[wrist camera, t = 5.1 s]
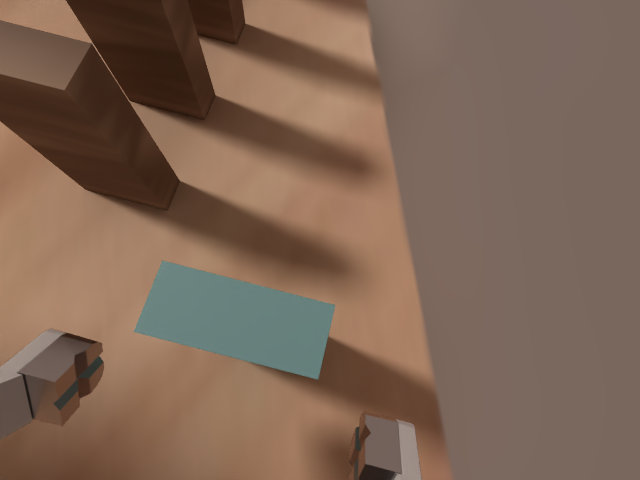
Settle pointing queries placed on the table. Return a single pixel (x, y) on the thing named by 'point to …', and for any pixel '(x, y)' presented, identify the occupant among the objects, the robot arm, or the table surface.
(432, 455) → the table surface
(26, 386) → the robot arm
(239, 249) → the table surface
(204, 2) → the walnut domino
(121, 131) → the walnut domino
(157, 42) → the walnut domino
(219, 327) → the teal domino
